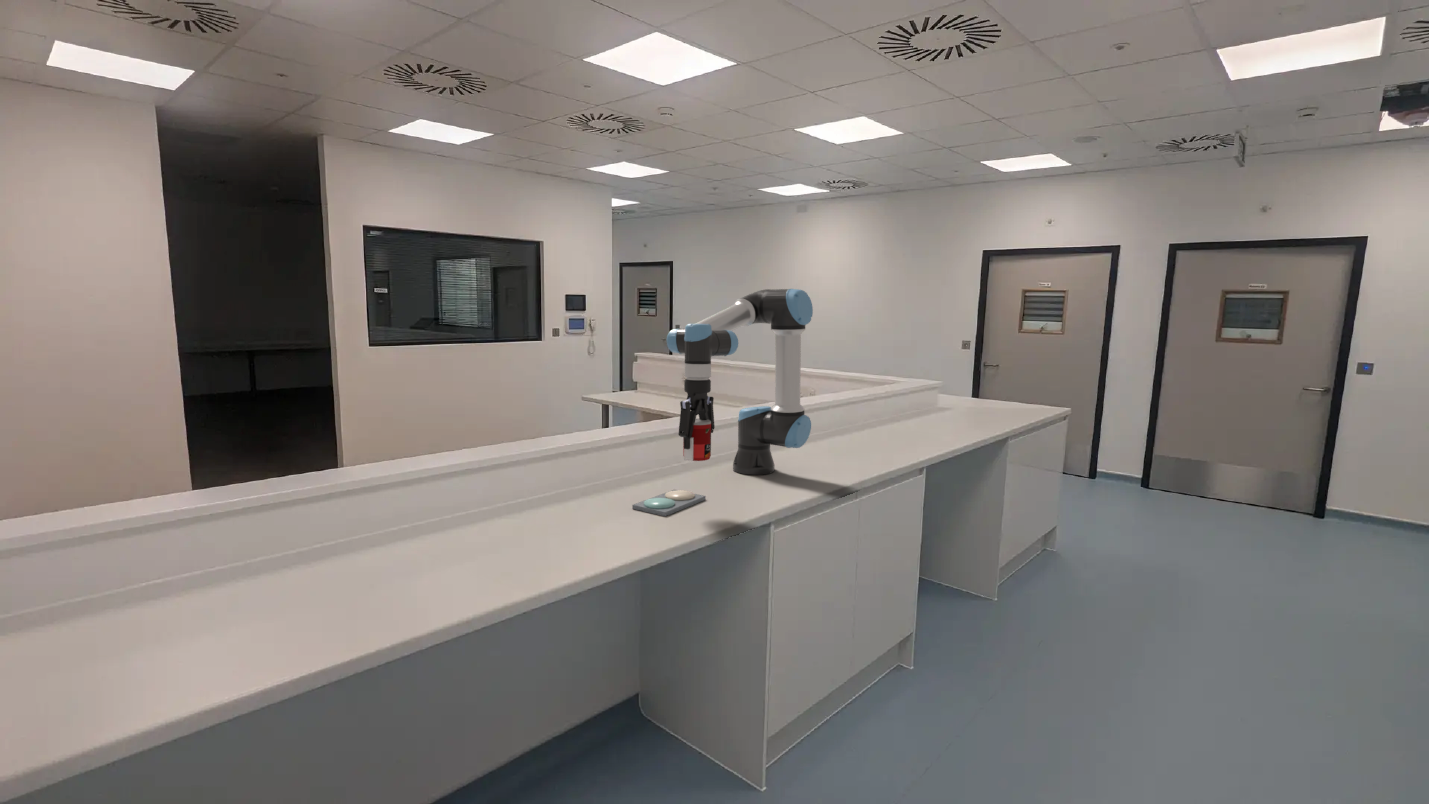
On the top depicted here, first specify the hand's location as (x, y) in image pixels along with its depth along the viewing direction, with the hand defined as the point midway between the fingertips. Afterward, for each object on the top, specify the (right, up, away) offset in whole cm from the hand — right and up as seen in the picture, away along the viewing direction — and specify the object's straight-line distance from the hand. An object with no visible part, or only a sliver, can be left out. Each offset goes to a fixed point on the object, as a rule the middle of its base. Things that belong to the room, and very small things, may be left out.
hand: (696, 457), depth 187 cm
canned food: (0, -1, 0) cm, 0 cm away
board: (-8, -15, +7) cm, 18 cm away
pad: (-11, -14, +2) cm, 18 cm away
